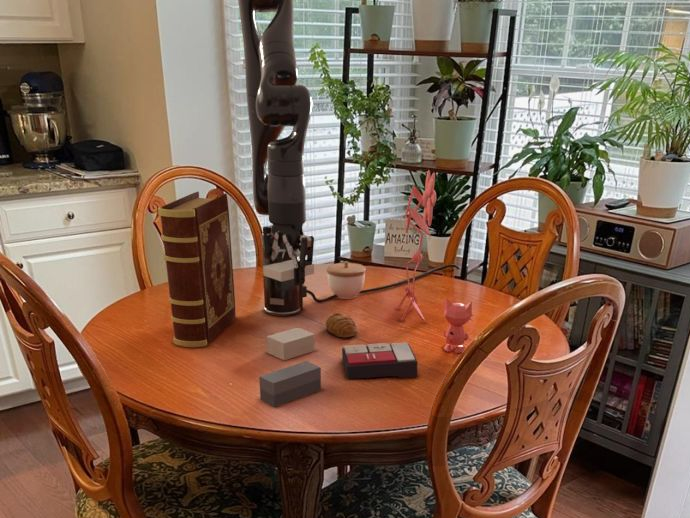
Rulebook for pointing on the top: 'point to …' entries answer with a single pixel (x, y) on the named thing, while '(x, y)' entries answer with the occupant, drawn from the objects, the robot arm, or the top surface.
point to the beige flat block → (284, 270)
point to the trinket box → (345, 279)
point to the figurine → (428, 203)
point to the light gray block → (290, 343)
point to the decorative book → (198, 267)
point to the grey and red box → (379, 360)
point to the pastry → (341, 325)
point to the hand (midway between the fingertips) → (289, 281)
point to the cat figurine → (456, 324)
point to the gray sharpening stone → (290, 383)
